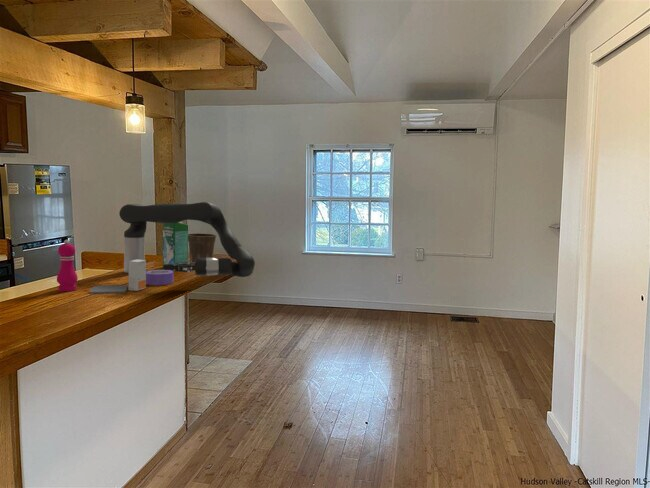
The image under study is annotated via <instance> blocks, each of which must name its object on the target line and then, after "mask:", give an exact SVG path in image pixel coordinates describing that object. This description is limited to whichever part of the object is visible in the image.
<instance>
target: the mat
mask: <svg viewBox="0 0 650 488" xmlns="http://www.w3.org/2000/svg"><path fill="white" fill-rule="evenodd" d="M128 290H129V284H127V285H125V284H124V285H123V284H120V285H118V284H117V285H116V284H115V285H94V286H92V287H91V289H90V290H89V291H88V294H121V293H122V294H125V293H127V291H128Z"/></svg>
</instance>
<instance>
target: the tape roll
mask: <svg viewBox="0 0 650 488" xmlns="http://www.w3.org/2000/svg"><path fill="white" fill-rule="evenodd" d="M174 272H175V271H174V270H164V269H152V270H146V285H149V286H166V285H167V286H168V285H172V284H173V283H174V282H175V277H174V274H175V273H174Z"/></svg>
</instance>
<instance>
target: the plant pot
mask: <svg viewBox="0 0 650 488" xmlns="http://www.w3.org/2000/svg"><path fill="white" fill-rule="evenodd" d="M216 238H217V235H216V234H213V233H196V232H195V233H188V251H189V262H190V261H192V262H195V259H196V258H214V249H215V243H216Z"/></svg>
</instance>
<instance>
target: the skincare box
mask: <svg viewBox="0 0 650 488" xmlns="http://www.w3.org/2000/svg"><path fill="white" fill-rule="evenodd" d="M146 272H147V260H146V259H145V260H139V259H137V260H132V261H129V273H128V285H129V287H128V291H132V292H133V291H135V292H138V291H141V290H145V289H147V288H146V287H147V284H146Z"/></svg>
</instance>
